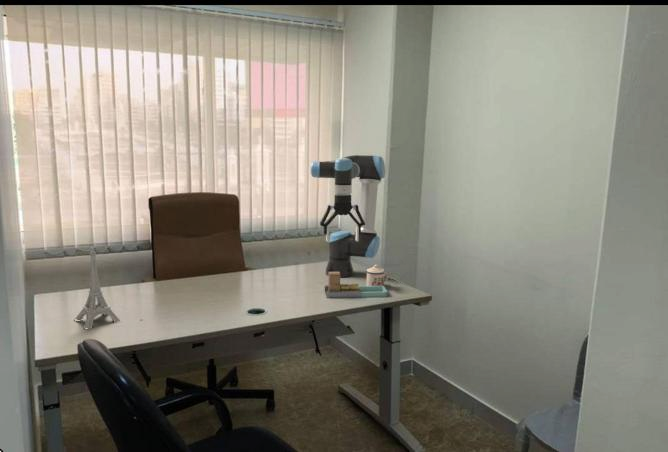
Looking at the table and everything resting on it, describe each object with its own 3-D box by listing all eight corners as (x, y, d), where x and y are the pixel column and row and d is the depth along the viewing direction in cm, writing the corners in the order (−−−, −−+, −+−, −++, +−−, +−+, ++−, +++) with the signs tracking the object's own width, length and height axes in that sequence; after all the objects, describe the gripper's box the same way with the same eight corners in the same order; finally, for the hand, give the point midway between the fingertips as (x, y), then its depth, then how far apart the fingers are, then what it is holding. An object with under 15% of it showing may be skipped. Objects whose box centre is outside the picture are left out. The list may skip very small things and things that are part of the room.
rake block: (328, 292, 235) (328, 271, 233) (338, 292, 235) (339, 271, 233) (329, 295, 230) (329, 274, 228) (340, 295, 230) (340, 274, 229)
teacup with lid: (372, 291, 240) (372, 268, 238) (362, 286, 248) (363, 263, 246) (392, 288, 246) (393, 265, 244) (382, 283, 254) (383, 261, 252)
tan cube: (339, 292, 235) (340, 284, 234) (348, 292, 235) (348, 284, 234) (340, 295, 231) (341, 286, 230) (349, 294, 231) (349, 286, 231)
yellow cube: (349, 292, 235) (349, 284, 235) (357, 292, 236) (358, 284, 235) (350, 294, 231) (350, 286, 231) (359, 294, 232) (359, 286, 231)
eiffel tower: (73, 320, 197) (67, 246, 192) (108, 312, 206) (103, 242, 201) (85, 330, 188) (79, 252, 182) (121, 321, 197) (116, 247, 192)
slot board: (324, 292, 238) (324, 285, 237) (357, 291, 240) (357, 284, 239) (326, 300, 226) (326, 292, 226) (361, 299, 228) (361, 292, 227)
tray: (357, 292, 239) (357, 286, 238) (383, 291, 240) (383, 285, 240) (361, 298, 229) (361, 292, 228) (387, 298, 230) (388, 292, 230)
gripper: (316, 195, 215) (315, 243, 219) (372, 195, 219) (371, 242, 223) (314, 193, 222) (313, 239, 226) (368, 193, 226) (367, 238, 230)
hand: (342, 241), depth 224 cm, fingers open, 13 cm apart
